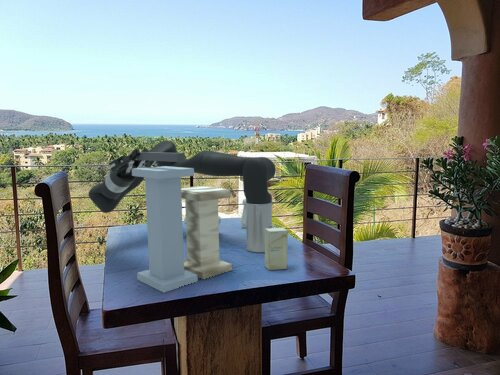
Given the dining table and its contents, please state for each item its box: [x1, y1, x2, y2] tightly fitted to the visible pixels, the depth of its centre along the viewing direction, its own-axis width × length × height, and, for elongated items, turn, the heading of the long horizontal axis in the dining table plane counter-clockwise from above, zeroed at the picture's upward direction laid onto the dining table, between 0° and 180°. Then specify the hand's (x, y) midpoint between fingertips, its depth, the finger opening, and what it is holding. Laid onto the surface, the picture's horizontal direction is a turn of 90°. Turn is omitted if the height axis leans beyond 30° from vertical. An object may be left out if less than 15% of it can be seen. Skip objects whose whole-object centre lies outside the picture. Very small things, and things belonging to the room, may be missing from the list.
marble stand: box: [181, 185, 233, 280], centre depth 118 cm, size 14×11×25 cm
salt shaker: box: [240, 198, 246, 229], centre depth 174 cm, size 6×6×13 cm
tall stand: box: [132, 166, 198, 294], centre depth 109 cm, size 14×11×32 cm
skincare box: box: [264, 227, 289, 271], centre depth 120 cm, size 6×4×12 cm
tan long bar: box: [128, 151, 185, 162], centre depth 109 cm, size 26×2×2 cm, turn 44°
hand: (142, 150), depth 113 cm, fingers closed on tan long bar, 2 cm apart
